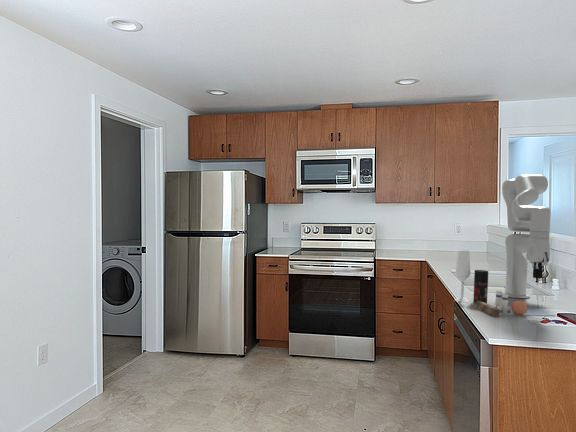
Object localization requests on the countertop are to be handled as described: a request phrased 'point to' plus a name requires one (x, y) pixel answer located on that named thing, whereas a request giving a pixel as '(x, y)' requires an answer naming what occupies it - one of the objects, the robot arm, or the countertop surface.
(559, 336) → the countertop surface
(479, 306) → the back wall
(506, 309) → the pin
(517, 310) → the ball
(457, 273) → the champagne flute
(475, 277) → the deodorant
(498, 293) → the pin
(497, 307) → the pin front
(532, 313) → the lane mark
